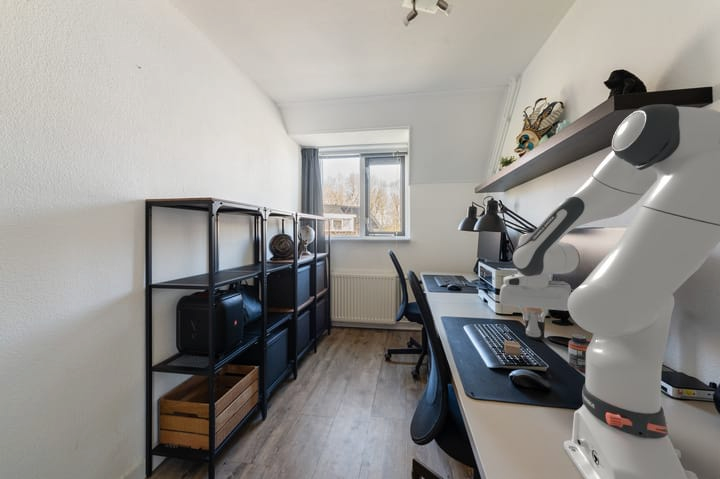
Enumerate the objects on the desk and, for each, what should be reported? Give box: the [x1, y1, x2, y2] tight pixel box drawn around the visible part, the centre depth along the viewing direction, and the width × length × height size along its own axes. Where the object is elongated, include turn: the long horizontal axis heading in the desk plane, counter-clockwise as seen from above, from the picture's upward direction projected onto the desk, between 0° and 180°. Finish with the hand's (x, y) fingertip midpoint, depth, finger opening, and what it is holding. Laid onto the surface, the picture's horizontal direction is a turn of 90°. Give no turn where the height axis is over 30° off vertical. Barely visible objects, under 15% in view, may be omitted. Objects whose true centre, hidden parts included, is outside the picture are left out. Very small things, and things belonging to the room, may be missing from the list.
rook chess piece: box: [525, 310, 541, 337], centre depth 89 cm, size 4×4×8 cm
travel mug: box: [524, 307, 546, 341], centre depth 122 cm, size 8×8×20 cm
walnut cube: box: [503, 340, 522, 356], centre depth 102 cm, size 5×5×5 cm
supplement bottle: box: [568, 333, 590, 372], centre depth 94 cm, size 6×6×11 cm
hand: (533, 320), depth 89 cm, fingers closed on rook chess piece, 3 cm apart
